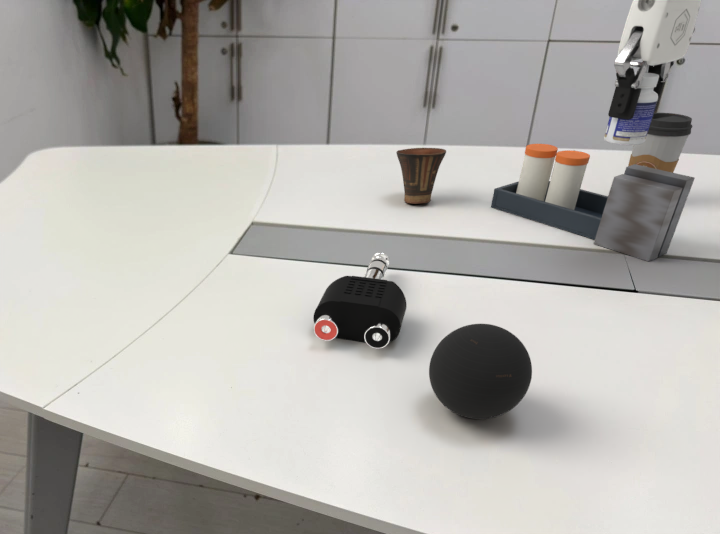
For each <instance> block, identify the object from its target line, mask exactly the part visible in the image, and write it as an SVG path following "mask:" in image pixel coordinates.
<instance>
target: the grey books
mask: <svg viewBox="0 0 720 534" xmlns="http://www.w3.org/2000/svg"><path fill="white" fill-rule="evenodd" d="M695 178H696V177H694V176H690V175H686V174H680V173H676V172H673V173H672V172H667V171H663V170H658V169H654V168H649V167H645V166H640V165H636V164H634V165H631V166H628V165H627V166H626V167H625V170H624V173H622V174H621V173H620V174H618V175H615V176H613V179H612V183H611V185H610V189H609V191H608V195H607V196H608V198H607V202H606V205H605V208H604V212H603V215H602V218H601V221H600V225H599V228H598V231H597V234H596V238H595V240H594V242H593V245H595V246H599V247H602V248H605V249H608V250H610V251H614V252H618V253H620V254H624V255H626V256H627V255H628V256H630V257H633V258H637V259H640V260H642V261H646V262H651V261H653V260H655V259H657V258H660V257H662V256H664V255H667V254H668V251H669V248H670V246H671V243H672V240H673V237H674V235H675V233H676V230H677V227H678V224H679V221H680V218H681V216H682V213H683V210H684V208H685V205H686V203H687V200H688V198H689V196H690V192H691V189H692V188H693V187H692V186H693V184H694V181H695Z"/></svg>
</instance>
